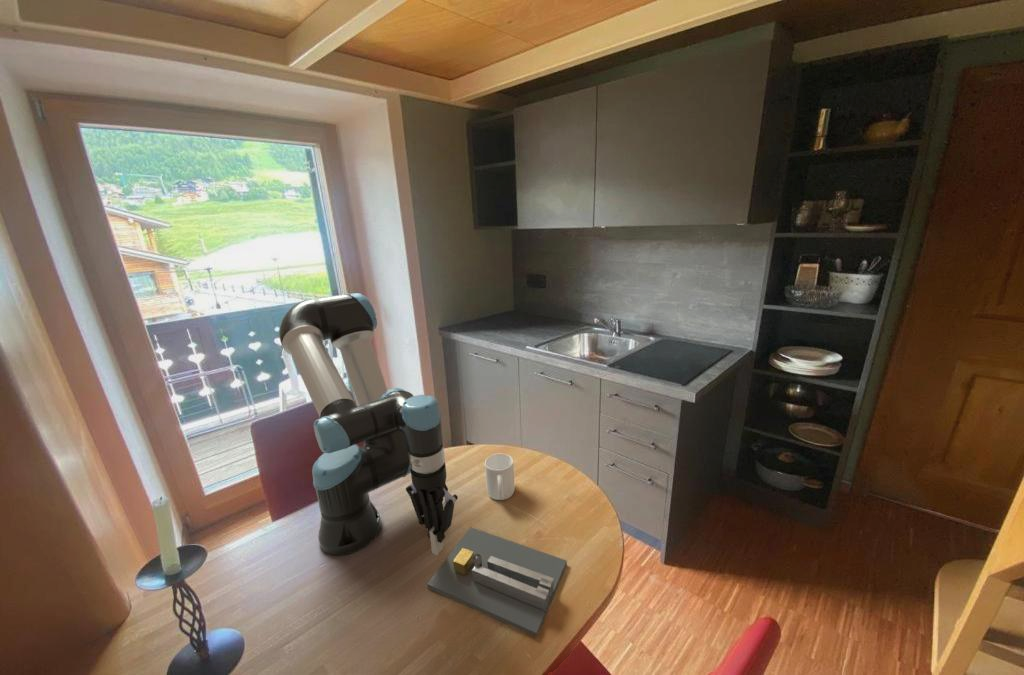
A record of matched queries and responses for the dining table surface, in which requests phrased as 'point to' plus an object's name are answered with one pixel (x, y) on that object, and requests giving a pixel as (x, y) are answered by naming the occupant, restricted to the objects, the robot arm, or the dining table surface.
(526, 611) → the board
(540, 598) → the tongs fixed
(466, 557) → the tab
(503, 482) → the mug
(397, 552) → the dining table surface
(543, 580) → the tongs jaw
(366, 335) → the robot arm
